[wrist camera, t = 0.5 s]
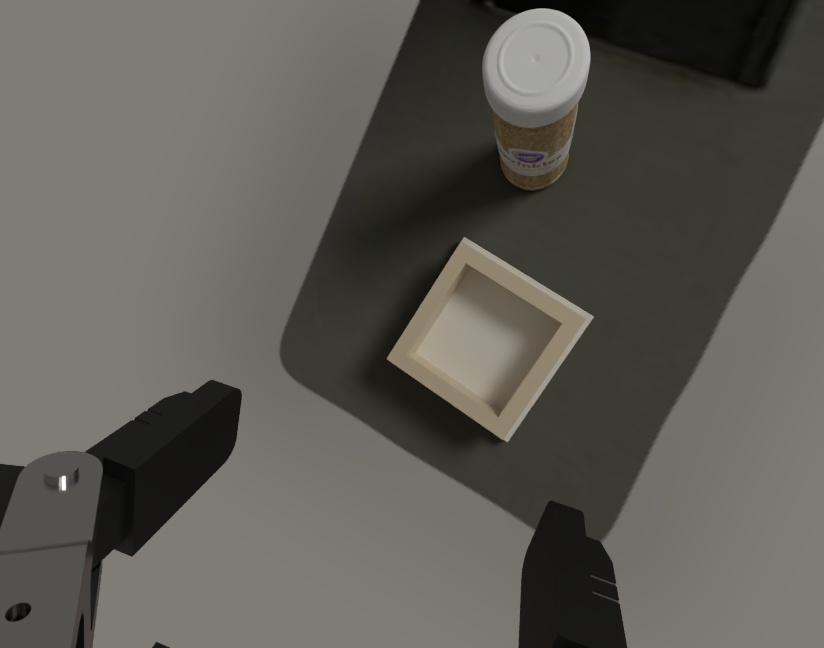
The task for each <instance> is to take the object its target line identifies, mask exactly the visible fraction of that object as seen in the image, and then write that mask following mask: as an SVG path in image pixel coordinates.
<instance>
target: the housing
mask: <svg viewBox="0 0 824 648" xmlns="http://www.w3.org/2000/svg"><path fill="white" fill-rule="evenodd" d="M592 319H593V316H592V315H590V314H589V313H587V312H585V311H584V310H582V309H580V308H579V307H577V306H576V305H574V304H572V303H571V302H569V301H567V300H566V299H564V298H563V297H561V296H559V295H558V294H556V293H554V292H553V291H551V290H550V289H548V288H546V287H545V286H543V285H541V284H540V283H538V282H537V281H535V280H533V279H532V278H530V277H528V276H527V275H525V274H524V273H522V272H520V271H519V270H517V269H515V268H514V267H512V266H511V265H509V264H507V263H506V262H504V261H502V260H501V259H499V258H498V257H496V256H494V255H493V254H491V253H489V252H488V251H486V250H485V249H483V248H481V247H480V246H478V245H476V244H475V243H473V242H472V241H470V240H468V239H467V238H465V237H464V238H463V239H462V241H461V242H460V244H459V245H458V247H457V248H456V250H455V252H454V253H453V255H452V256H451V258H450V260H449V261H448V263H447V264H446V266H445V267H444V269H443V271H442V272H441V274H440V275H439V277H438V278H437V280H436V282H435V283H434V285H433V286H432V288H431V290H430V291H429V293H428V294H427V296H426V297H425V299H424V301H423V302H422V304H421V305H420V307H419V308H418V310H417V312H416V313H415V315H414V316H413V318H412V319H411V321H410V323H409V324H408V326H407V327H406V329H405V331H404V332H403V334H402V335H401V337H400V338H399V340H398V342H397V343H396V345H395V346H394V348H393V349H392V351H391V353H390V354H389V356H388V357H387V360H389V361H390V362H391V363H393V364H394V365H396V366H397V367H399V368H400V369H401V370H403V371H404V372H406V373H407V374H409V375H410V376H412V377H413V378H414V379H416V380H417V381H419V382H420V383H422V384H423V385H424V386H426V387H427V388H429V389H430V390H432V391H433V392H435V393H436V394H437V395H439V396H440V397H442V398H443V399H445V400H446V401H447V402H449V403H450V404H452V405H453V406H455V407H456V408H457V409H459V410H460V411H462V412H463V413H465V414H466V415H468V416H469V417H470V418H472V419H473V420H475V421H476V422H478V423H479V424H480V425H482V426H483V427H485V428H486V429H488V430H489V431H491V432H492V433H493V434H495V435H496V436H498V437H499V438H501V439H502V440H505V441H506V442H508V441H509V439H510V438H511V436H512V435H513V433H514V432H515V431H516V429H517V428H518V426H519V425H520V423H521V422H522V420H523V419H524V418H525V416H526V415H527V413H528V412H529V410H530V409H531V407H532V406H533V404H534V403H535V402H536V400H537V399H538V397H539V396H540V394H541V393H542V391H543V390H544V388H545V387H546V386H547V384H548V383H549V381H550V380H551V378H552V377H553V375H554V374H555V372H556V371H557V370H558V368H559V367H560V365H561V364H562V362H563V361H564V359H565V358H566V356H567V355H568V354H569V352H570V351H571V349H572V348H573V346H574V345H575V343H576V342H577V340H578V339H579V338H580V336H581V335H582V333H583V332H584V330H585V329H586V327H587V326H588V325H589V323H590V322H591V320H592Z"/></svg>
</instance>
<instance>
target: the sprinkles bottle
mask: <svg viewBox="0 0 824 648" xmlns="http://www.w3.org/2000/svg"><path fill="white" fill-rule="evenodd" d="M589 66H590V47H589V43H588V40H587V37H586V35H585V33H584V31H583V30H582V28H581V27H580V25H579V24H578V23H577V22H576V21H575V20H574V19H572V18H571V17H569V16H568V15H566V14H564V13H562V12H560V11H557V10H552V9H545V8H540V9H532V10H528V11H525V12H522V13H519V14H517V15H515V16H513V17H512V18H510V19H509V20H507V21H506V22H505V23H503V24H502V25H501V26H500V27H499V28H498V30H497V31H496V32H495V33H494V35H493V36H492V37H491V39H490V41H489V43H488V45H487V47H486V50H485V53H484V57H483V63H482V74H483V83H484V89H485V94H486V97H487V100H488V102H489V104H490V106H491V107H492V112H493V118H494V123H495V136H496V141H497V146H498V151H499V154H500V163H501V169H502V171H503V173H504V175H505V177H506V178H507V179H508V181H510V182H511V183H512V184H513V185H515V186H518V187H519V188H522V189H525V190H531V191H533V190H539V189H543V188H545V187H547V186H549V185H551V184H553V183H554V182H556V180H557V179H558V178H559V177H560V176H561V175H562V174H563V172H564V170H565V168H566V166H567V161H568V157H569V153H568V151H569V148H570V144H571V140H572V135H573V130H574V125H575V120H576V115H577V110H578V101H579V100H580V98H581V96H582V94H583V92H584V89H585V86H586V82H587V77H588V72H589Z"/></svg>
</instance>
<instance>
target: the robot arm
mask: <svg viewBox="0 0 824 648" xmlns="http://www.w3.org/2000/svg"><path fill="white" fill-rule="evenodd" d="M241 397H242V394H241V391H240V389H237V388H234V387H231V386H229V385H226V384H223V383H220V382H217V381H214V380H210V381H208V382H207V383H205V384H204V385H203V386H201V387H200V388H198V389H197V390H196V391H194V392H193V393H188V392H182V393H179V394H175V395H172V396H169V397H166V398H164V399H162V400H161V401H159V402H158V403H156V404H155V405H153V406H152V407H151V408H149V409H148V411H147V412H146V411H144V412H143V413H142V414H140V415H139V416H137V417H136V418H135V420H134V421H133V420H132V421H130V422H128V423H127V424H125V425H124V426H122V427H121V428H120V429H118V430H117V431H115V432H114V433H112V434H111V435H109V436H108V437H106V438H105V439H103V440H102V441H100V442H99V443H97V444H96V445H94V446H93V447H91V448H90V449H89V450H87V451H86V452H79V451H65V452H57V453H52V454H49V455H46V456H43V457H41V458H38V459H37V460H35V461H33V462H32V463H30V464H28V465H27V466H26V467H24V466H14V465H5V464H0V648H92V646H93V637H94V630H95V621H96V613H97V605H98V598H99V590H100V581H101V574H102V560H103V559H104V558H105V557H106V556H107V555H108V554H109V553H110V552H111V551H112V550H113V549H115V550H117V551H120V552H122V553H125V554H127V555H130V556H133V555H134V554H135V553H136V552H137V551H138V550H139V549H140V548H141V547H142V546H143V545H144V544H145V543H146V542H147V541H148V540H149V539H150V538H151V537H152V536H153V535H154V534H155V533H156V532H157V531H158V530H159V529H160V528H161V527H162V526H163V525H164V524H165V523H166V522H167V521H168V520H169V519H170V518H171V517H172V516H173V515H174V514H175V513H176V512H177V511H178V510H179V509H180V508H181V507H182V506H183V505H184V503H186V501H188V499H190V497H191V496H193V495H194V493H195V492H196V491H197V490H198V489H199V488H200V487H201V486H202V485H203V484H204V483H205V482H206V481H207V480H208V479H209V478H210V477H211V476H212V475H213V474H214V473H215V472H216V471H217V470H218V469H219V468H220V467H221V466H222V465H223V464H224V463H225V462H226V461H227V459H228V458H229V456H230V454H231V453H232V450H233V448H234V446H235V442H236V438H237V430H238V421H239V414H240V406H241V399H242V398H241ZM615 584H616V580H615V575H614V569H613V563H612V561H611V559H610V557H609V556H608V554H607V552H606V551H605V549H604V547H603V545H602V544H601V542H600V541H597V540H594V539H592V538H589V537H586V531H585V522H584V515H583V512H582V511H580V510H577V509H574V508H571V507H568V506H566V505H563V504H560V503H557V502H554V501H549V502H548V504H547V506H546V508H545V510H544V512H543V515H542V517H541V519H540V522H539V524H538V526H537V528H536V531H535V533H534V535H533V538H532V540H531V542H530V545H529V547H528V549H527V552H526V555H525V559H524V563H523V569H522V580H521V604H520V626H519V648H627V644H626V638H625V633H624V627H623V621H622V615H621V609H620V604H619V603H618V600H619V598H618V592H617V587H616V586H615ZM152 648H169V647H167V646H164V645H162V644H160V643H158V642H156V643H155V645H154V646H153V647H152Z"/></svg>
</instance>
